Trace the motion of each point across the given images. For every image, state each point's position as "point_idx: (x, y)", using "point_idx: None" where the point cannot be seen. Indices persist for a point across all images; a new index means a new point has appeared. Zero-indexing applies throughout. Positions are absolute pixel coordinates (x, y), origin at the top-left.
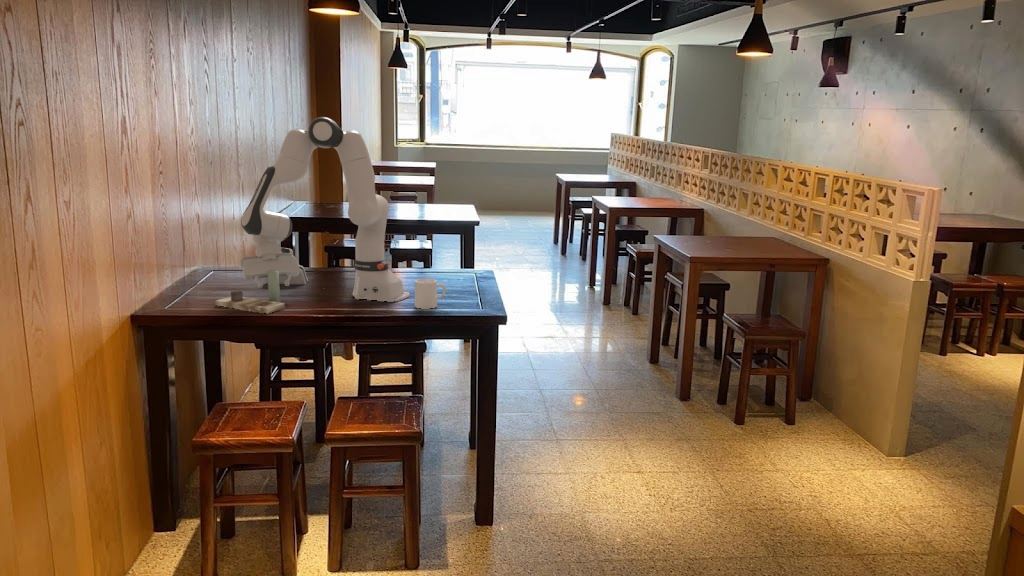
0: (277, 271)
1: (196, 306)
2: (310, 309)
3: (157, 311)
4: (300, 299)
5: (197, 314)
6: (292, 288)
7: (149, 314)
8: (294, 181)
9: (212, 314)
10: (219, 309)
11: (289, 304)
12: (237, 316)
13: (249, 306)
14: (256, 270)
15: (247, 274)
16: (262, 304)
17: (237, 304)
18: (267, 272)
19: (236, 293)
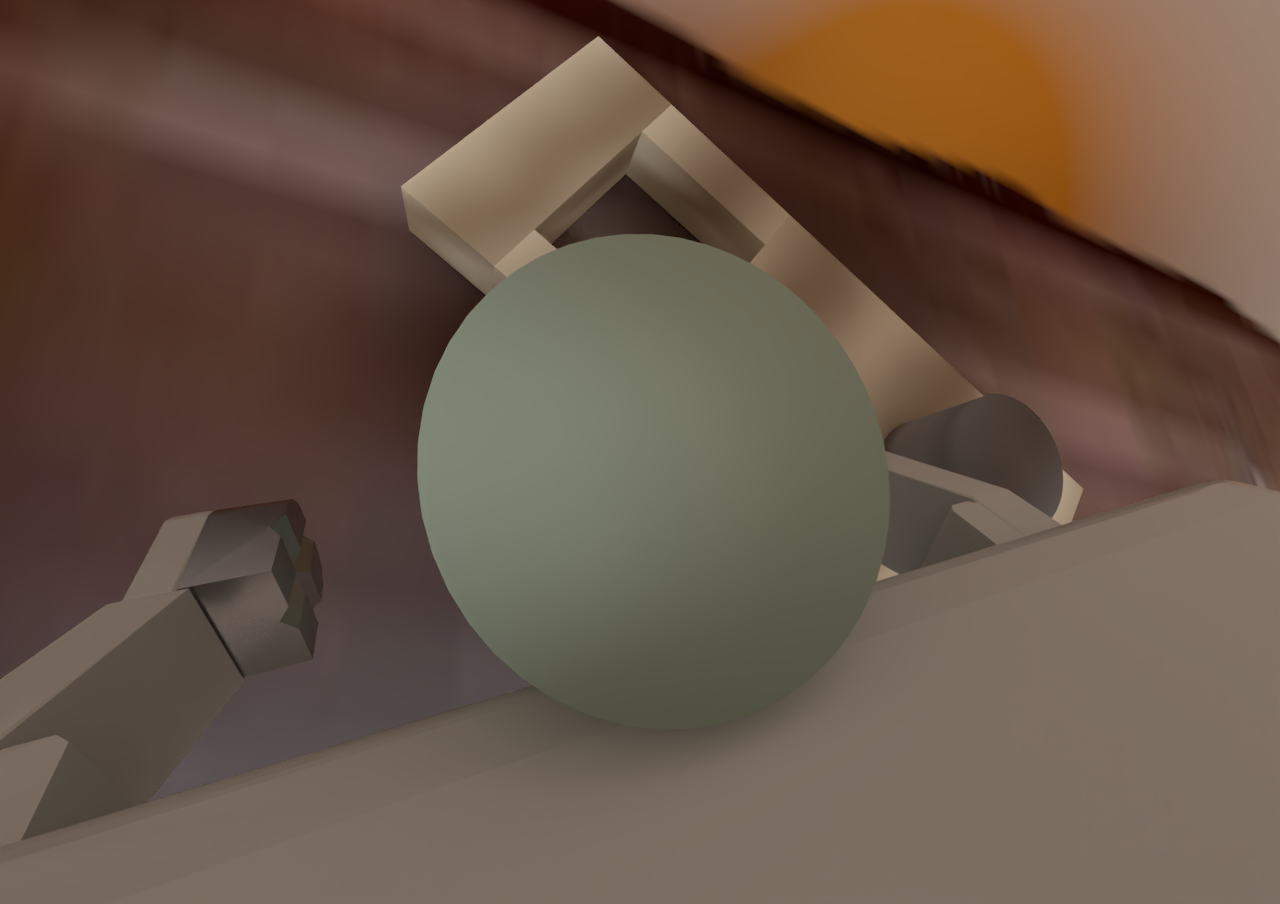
0: (484, 329)
1: None
2: (62, 83)
3: (1267, 419)
4: None
5: (1058, 272)
6: None
7: (1268, 357)
8: None
9: (978, 239)
10: (975, 373)
11: (338, 407)
12: (811, 121)
13: (772, 204)
14: (1214, 605)
15: (1221, 483)
16: None
17: (884, 307)
18: (853, 438)
19: (992, 394)
